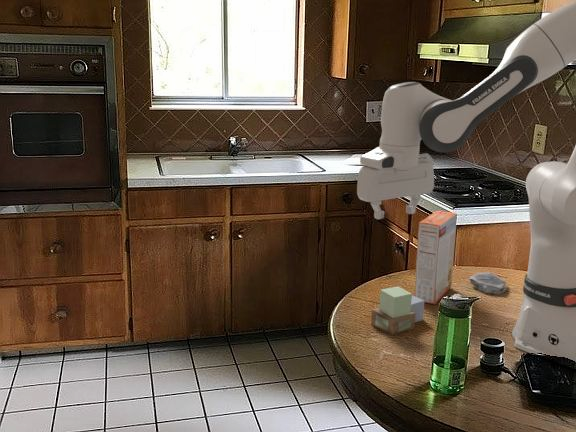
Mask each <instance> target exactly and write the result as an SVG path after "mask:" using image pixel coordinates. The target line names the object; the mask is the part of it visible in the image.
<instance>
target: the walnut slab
mask: <svg viewBox="0 0 576 432" xmlns="http://www.w3.org/2000/svg"><path fill="white" fill-rule="evenodd" d="M415 314H416V313H415V312H413V311H411V312H410V314H409V315H405V316H400V317H396V318H392V317H390V316H388V315H387V314H385V313H383V312H382V311H380V310H379V307H375V308H373V309H371V320H370V323H371V324H370V325H372V326H374V327H376V328H377V329H379V330H382V331H384V332H386V333H387V334H390V335H391V336H396V335H399V334H401V333H404V332H407V331H410V330H412V329H414V328H415V327H416V326H415V325H416V322H415Z"/></svg>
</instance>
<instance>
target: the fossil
mask: <svg viewBox="0 0 576 432" xmlns="http://www.w3.org/2000/svg"><path fill="white" fill-rule="evenodd" d="M468 280H469V282H470V284H471V285H472V286H473V287H475V289H477V290H478V291H479V292H483V293H484V294H493V295H501V294H503V293H505V292H506V291H507V288H508V287H507V285H506V284H507V283H506V282H507V281H506V280H504V279H503V278H501V277H499V276H498V275H496V274H494V273H493V272H489V271H485V272H484V271H483V272H477V273H475V274H473V275H471V276H470V277H469V278H468Z"/></svg>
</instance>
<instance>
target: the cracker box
mask: <svg viewBox="0 0 576 432" xmlns="http://www.w3.org/2000/svg"><path fill="white" fill-rule="evenodd" d="M457 220H458V213H457V212H450V211H445V210H436V211H434V212H433V213H431V214H430V215H428V216H427V217H426V218H424V219H422V220H420V221H419V222H418V228H417V229H418V230H417V231H418V233H417V249H416V250H417V251H416V265H415V277H414V279H415V281H414V295H413V296H415V297H417V298H420V299H422V300H424V304H425V303H426V304H429V305H436V304H437V302H439V301H440V299H442V298H443V296H445V294H447V292H448V291H449V290H450V289H451V288H452V282H453V269H454V256H455V255H454V254H455V247H456V246H455V244H456V232H457Z"/></svg>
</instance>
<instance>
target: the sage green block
mask: <svg viewBox="0 0 576 432" xmlns="http://www.w3.org/2000/svg"><path fill="white" fill-rule="evenodd" d="M379 293H380V294H379V310H380V311H382V312H383V313H385V314H387V315H388V316H390V317H392V318H396V317H400V316H405V315H409V314H410V312H411V299H412V295H413V294H412V292H410V291H407V290H406V289H404V288H402V287H400V286H391V287H388V288H383V289H380V292H379Z"/></svg>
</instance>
